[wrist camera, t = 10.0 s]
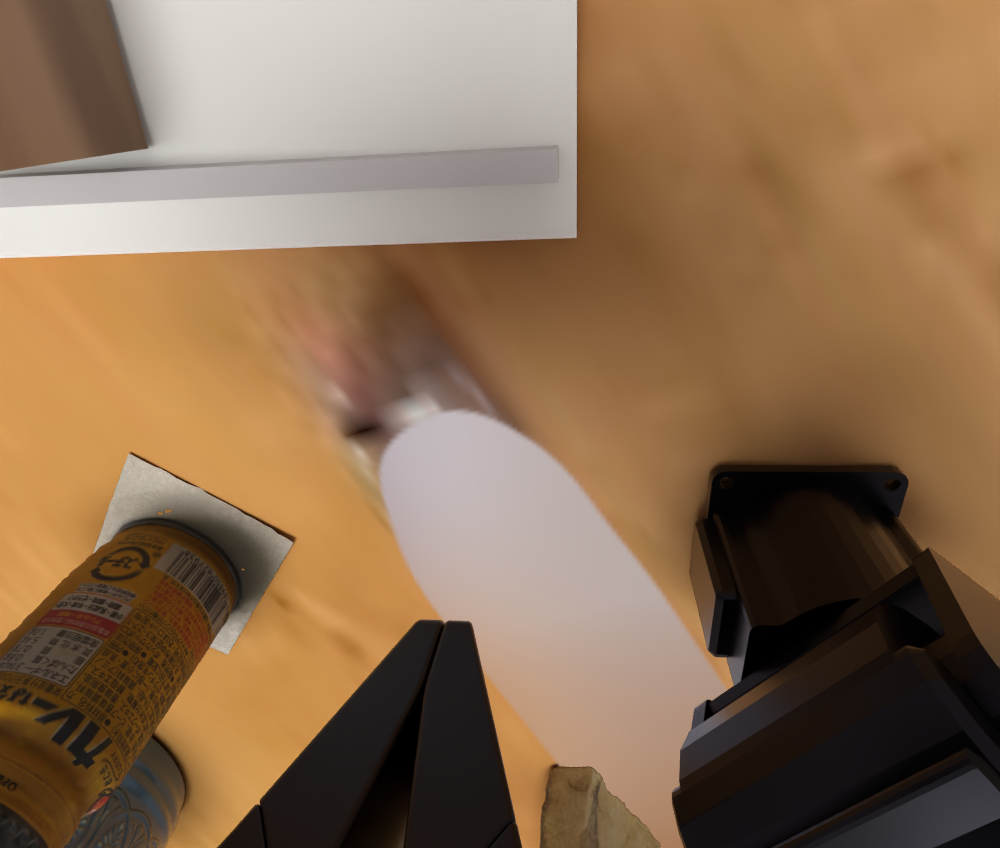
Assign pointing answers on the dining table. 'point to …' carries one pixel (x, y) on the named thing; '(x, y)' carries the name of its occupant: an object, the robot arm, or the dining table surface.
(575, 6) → the gauge base
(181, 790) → the canister
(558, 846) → the rock
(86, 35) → the brown cardboard cube
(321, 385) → the dining table surface
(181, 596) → the condiment
